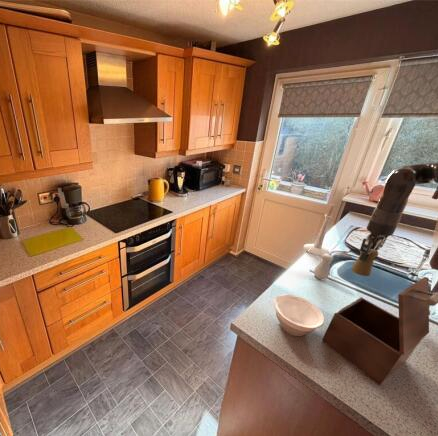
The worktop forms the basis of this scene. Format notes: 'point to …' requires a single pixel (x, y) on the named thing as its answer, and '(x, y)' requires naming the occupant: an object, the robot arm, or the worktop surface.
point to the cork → (365, 264)
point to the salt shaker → (323, 267)
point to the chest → (367, 339)
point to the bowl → (297, 315)
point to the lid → (414, 313)
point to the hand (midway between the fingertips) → (366, 258)
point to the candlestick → (321, 237)
